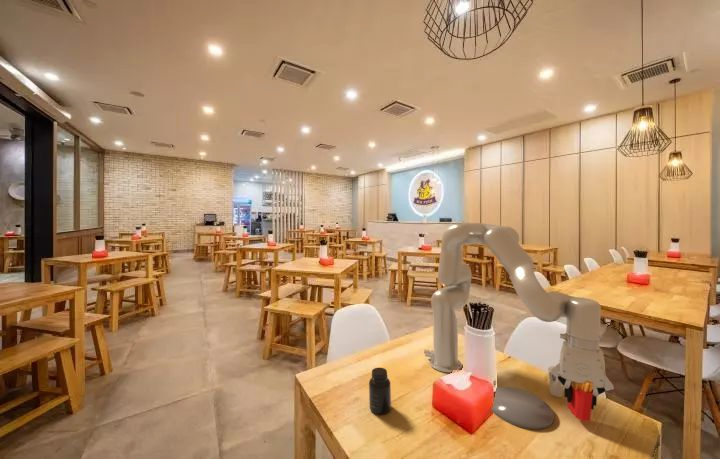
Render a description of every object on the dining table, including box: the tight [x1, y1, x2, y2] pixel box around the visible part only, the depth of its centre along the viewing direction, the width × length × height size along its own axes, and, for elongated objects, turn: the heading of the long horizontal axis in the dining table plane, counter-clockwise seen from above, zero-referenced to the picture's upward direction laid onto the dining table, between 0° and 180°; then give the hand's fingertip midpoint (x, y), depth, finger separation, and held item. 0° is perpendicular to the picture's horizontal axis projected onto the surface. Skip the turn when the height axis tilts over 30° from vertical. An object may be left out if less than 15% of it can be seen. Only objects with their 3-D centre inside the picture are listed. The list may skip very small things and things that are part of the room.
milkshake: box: [547, 365, 564, 398], centre depth 94 cm, size 4×5×10 cm
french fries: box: [567, 381, 594, 422], centre depth 81 cm, size 8×4×12 cm, turn 169°
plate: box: [490, 386, 555, 431], centre depth 88 cm, size 18×18×2 cm
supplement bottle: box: [368, 367, 392, 416], centre depth 88 cm, size 7×7×12 cm
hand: (579, 402), depth 81 cm, fingers closed on french fries, 4 cm apart
